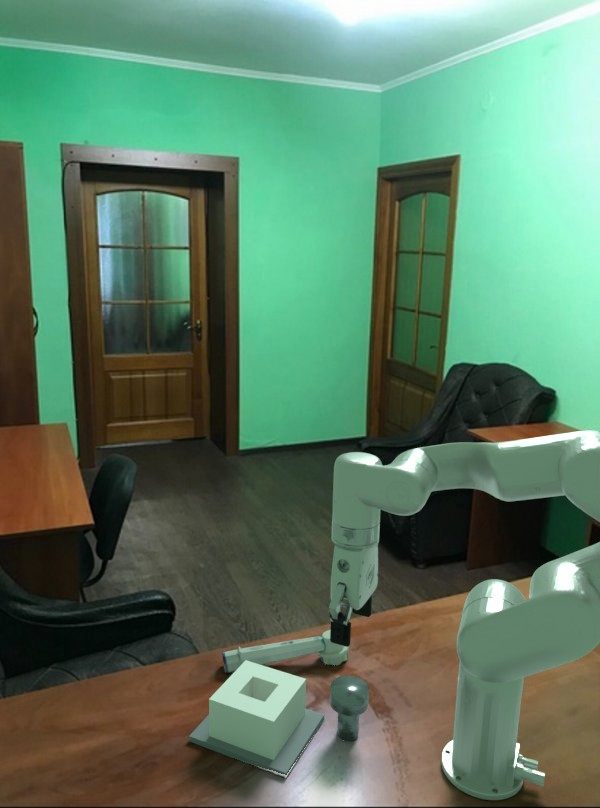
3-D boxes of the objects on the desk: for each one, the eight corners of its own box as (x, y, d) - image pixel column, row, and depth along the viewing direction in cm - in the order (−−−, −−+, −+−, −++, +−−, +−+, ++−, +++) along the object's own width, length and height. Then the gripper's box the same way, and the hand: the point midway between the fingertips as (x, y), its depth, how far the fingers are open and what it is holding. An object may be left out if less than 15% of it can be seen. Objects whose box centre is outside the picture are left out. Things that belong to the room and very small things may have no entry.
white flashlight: (221, 645, 130) (342, 619, 134) (225, 674, 131) (345, 647, 135) (223, 661, 125) (349, 633, 129) (228, 691, 126) (352, 662, 130)
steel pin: (371, 728, 113) (374, 682, 111) (358, 752, 107) (361, 704, 105) (337, 716, 116) (339, 671, 114) (323, 740, 110) (324, 692, 108)
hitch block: (324, 719, 115) (325, 679, 113) (286, 778, 102) (286, 733, 100) (235, 689, 122) (235, 651, 121) (189, 741, 109) (188, 698, 107)
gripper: (358, 557, 94) (354, 663, 98) (394, 516, 110) (389, 609, 113) (311, 546, 98) (308, 649, 101) (352, 508, 113) (348, 599, 116)
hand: (351, 628), depth 107 cm, fingers open, 9 cm apart
